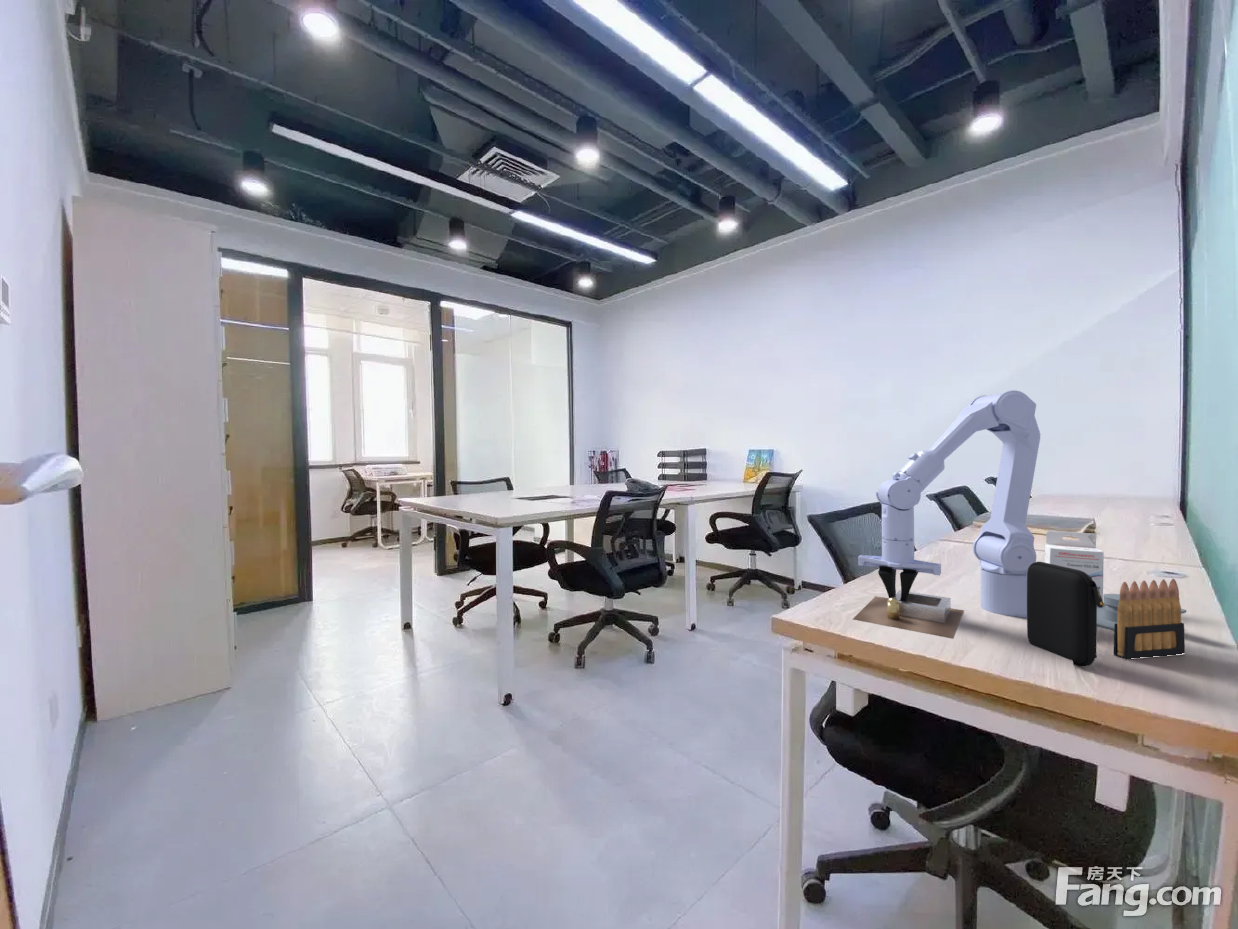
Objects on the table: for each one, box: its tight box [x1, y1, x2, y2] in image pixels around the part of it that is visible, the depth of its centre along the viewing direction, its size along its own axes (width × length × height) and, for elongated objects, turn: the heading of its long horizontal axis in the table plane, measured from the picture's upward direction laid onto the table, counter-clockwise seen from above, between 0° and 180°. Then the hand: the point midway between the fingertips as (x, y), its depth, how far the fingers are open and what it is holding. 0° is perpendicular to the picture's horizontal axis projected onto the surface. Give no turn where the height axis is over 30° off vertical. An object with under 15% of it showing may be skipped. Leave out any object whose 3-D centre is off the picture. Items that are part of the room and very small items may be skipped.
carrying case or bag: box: [1026, 561, 1104, 668], centre depth 76 cm, size 11×3×15 cm, turn 9°
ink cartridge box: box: [1044, 530, 1105, 600], centre depth 102 cm, size 9×5×15 cm, turn 58°
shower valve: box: [1097, 593, 1187, 632], centre depth 90 cm, size 12×6×15 cm
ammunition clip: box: [1113, 578, 1186, 660], centre depth 77 cm, size 11×2×12 cm, turn 96°
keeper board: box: [852, 595, 965, 639], centre depth 95 cm, size 16×18×1 cm
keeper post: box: [887, 597, 899, 620], centre depth 93 cm, size 2×2×4 cm
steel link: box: [893, 589, 952, 623], centre depth 96 cm, size 9×9×2 cm
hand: (898, 604), depth 98 cm, fingers closed on steel link, 1 cm apart
